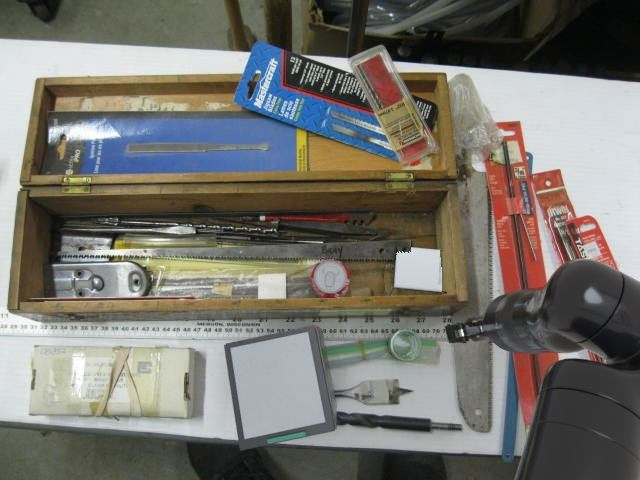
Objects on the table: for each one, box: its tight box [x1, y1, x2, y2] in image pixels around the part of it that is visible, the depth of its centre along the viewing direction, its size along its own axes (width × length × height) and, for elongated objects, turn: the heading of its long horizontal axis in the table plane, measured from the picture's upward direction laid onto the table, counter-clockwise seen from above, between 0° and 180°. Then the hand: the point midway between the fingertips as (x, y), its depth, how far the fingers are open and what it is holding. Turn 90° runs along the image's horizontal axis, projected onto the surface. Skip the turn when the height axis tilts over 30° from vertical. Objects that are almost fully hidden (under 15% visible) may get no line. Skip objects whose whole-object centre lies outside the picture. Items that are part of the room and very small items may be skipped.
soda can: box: [310, 258, 351, 299], centre depth 84 cm, size 7×7×12 cm
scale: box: [223, 325, 336, 452], centre depth 61 cm, size 14×13×3 cm
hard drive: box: [393, 246, 443, 293], centre depth 89 cm, size 2×8×12 cm
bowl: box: [387, 328, 423, 362], centre depth 84 cm, size 6×6×5 cm
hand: (483, 325), depth 70 cm, fingers open, 8 cm apart
